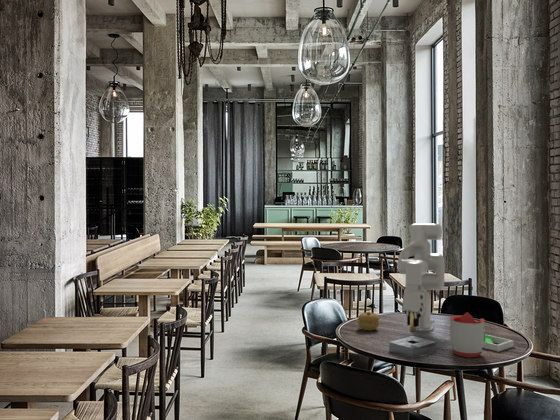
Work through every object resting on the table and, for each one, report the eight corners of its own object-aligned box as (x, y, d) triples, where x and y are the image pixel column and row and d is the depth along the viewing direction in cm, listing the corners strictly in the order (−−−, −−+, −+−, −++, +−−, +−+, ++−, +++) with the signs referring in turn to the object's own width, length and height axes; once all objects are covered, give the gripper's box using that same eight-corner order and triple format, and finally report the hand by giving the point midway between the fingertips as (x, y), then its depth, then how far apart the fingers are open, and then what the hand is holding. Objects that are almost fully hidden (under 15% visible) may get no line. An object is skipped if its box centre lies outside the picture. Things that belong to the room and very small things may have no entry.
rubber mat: (411, 335, 293) (411, 334, 293) (426, 339, 285) (426, 338, 285) (399, 339, 287) (399, 338, 287) (414, 343, 279) (414, 342, 279)
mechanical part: (493, 347, 272) (493, 331, 272) (480, 347, 273) (481, 331, 273) (489, 341, 284) (489, 325, 284) (477, 340, 285) (477, 325, 285)
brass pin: (412, 330, 266) (412, 310, 266) (417, 331, 264) (417, 311, 264) (408, 331, 265) (408, 310, 264) (413, 332, 262) (413, 312, 262)
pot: (376, 327, 312) (376, 309, 311) (381, 332, 300) (381, 314, 300) (356, 327, 311) (356, 309, 311) (359, 332, 300) (359, 314, 299)
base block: (412, 344, 276) (412, 335, 276) (436, 351, 265) (436, 341, 265) (389, 351, 265) (389, 341, 265) (412, 358, 254) (412, 348, 254)
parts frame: (476, 337, 289) (477, 332, 289) (513, 346, 274) (513, 340, 274) (461, 342, 280) (461, 336, 280) (498, 351, 265) (498, 345, 265)
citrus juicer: (493, 355, 259) (494, 313, 258) (469, 361, 250) (470, 317, 249) (466, 347, 272) (466, 307, 271) (442, 352, 263) (442, 311, 262)
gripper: (432, 289, 260) (432, 327, 260) (404, 284, 273) (404, 321, 273) (422, 290, 255) (422, 330, 256) (394, 286, 268) (394, 323, 268)
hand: (412, 325), depth 264 cm, fingers closed on brass pin, 3 cm apart
